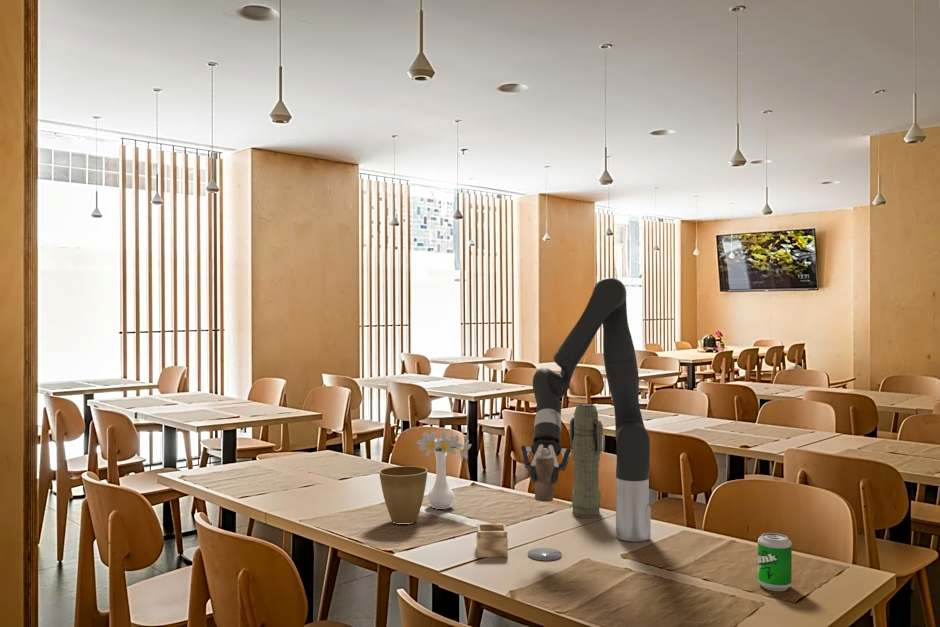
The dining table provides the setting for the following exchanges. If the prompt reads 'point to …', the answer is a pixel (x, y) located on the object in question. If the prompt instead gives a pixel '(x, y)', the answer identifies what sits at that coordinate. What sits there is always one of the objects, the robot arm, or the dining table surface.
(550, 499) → the pepper mill
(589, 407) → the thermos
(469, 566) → the dining table surface
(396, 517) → the plant pot
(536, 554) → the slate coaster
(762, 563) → the soda can
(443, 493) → the flower vase
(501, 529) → the oak caddy
